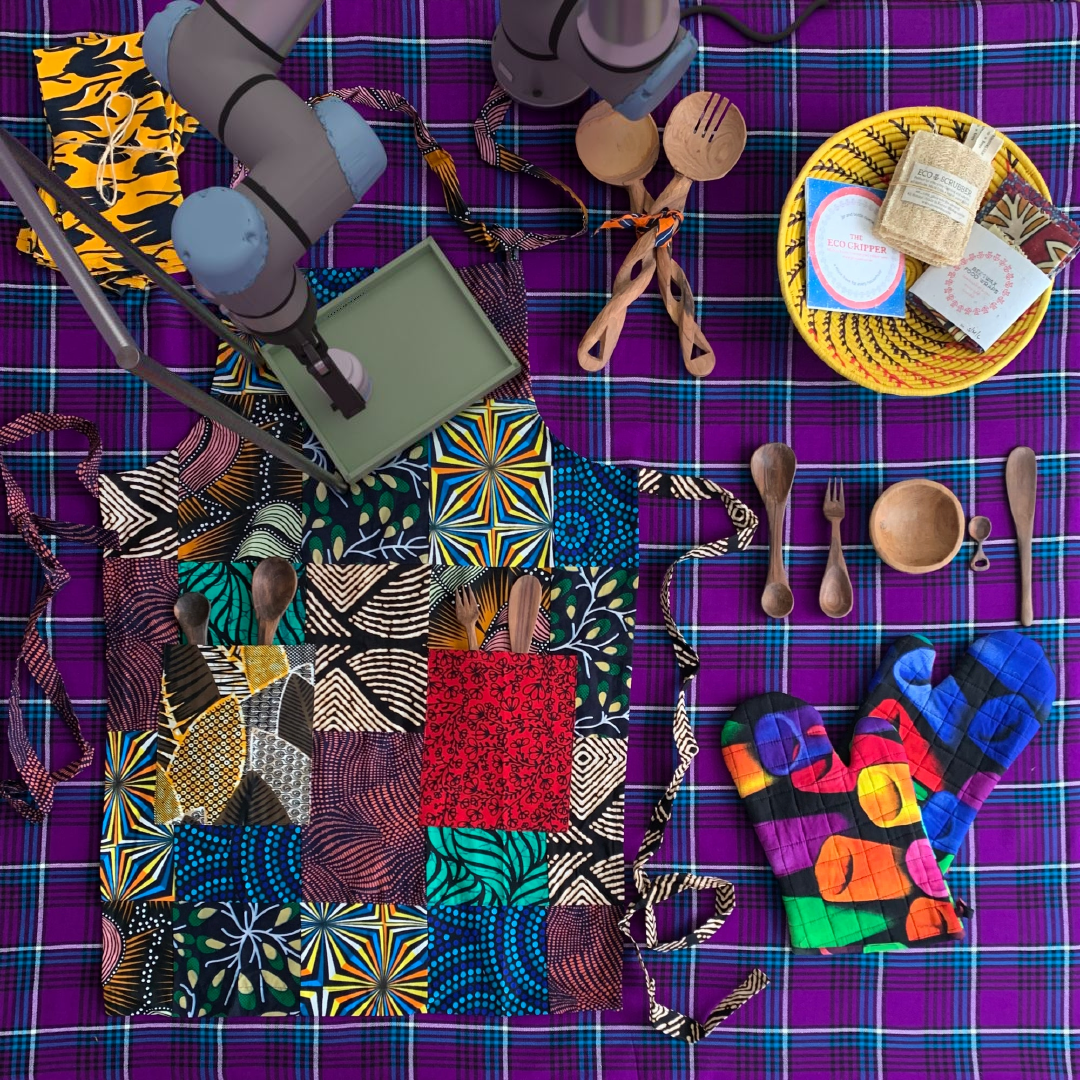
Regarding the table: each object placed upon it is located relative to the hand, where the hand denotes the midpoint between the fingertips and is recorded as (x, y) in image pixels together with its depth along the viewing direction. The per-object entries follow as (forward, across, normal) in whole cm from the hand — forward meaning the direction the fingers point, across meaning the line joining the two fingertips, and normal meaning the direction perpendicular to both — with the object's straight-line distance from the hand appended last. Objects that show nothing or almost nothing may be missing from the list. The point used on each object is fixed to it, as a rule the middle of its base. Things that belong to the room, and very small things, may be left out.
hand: (324, 360), depth 109 cm
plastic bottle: (+15, -16, -5) cm, 22 cm away
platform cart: (+15, 0, +6) cm, 16 cm away
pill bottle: (+15, 0, 0) cm, 15 cm away
